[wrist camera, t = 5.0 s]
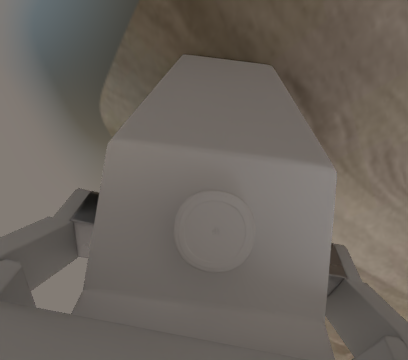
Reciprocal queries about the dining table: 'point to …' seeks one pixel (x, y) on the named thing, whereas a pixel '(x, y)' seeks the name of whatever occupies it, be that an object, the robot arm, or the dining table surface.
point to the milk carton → (216, 214)
